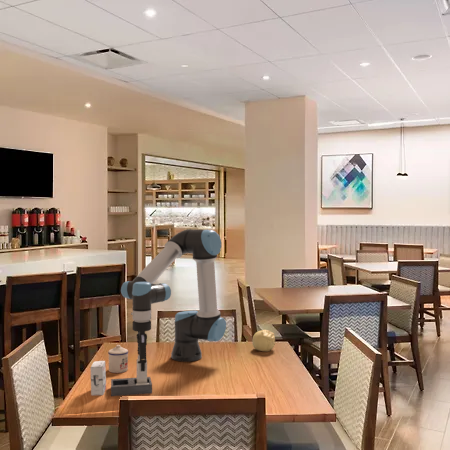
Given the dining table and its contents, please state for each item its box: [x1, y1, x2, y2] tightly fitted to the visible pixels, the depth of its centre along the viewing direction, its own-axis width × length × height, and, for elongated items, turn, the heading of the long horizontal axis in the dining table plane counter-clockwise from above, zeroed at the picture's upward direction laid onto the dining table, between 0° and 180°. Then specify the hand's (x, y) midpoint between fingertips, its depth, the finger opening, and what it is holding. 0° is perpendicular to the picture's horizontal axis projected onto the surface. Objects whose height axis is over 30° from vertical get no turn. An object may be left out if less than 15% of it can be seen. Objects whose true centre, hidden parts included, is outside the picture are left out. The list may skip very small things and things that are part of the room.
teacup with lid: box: [107, 344, 129, 374], centre depth 244 cm, size 12×9×12 cm
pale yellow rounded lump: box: [252, 329, 276, 352], centre depth 278 cm, size 12×12×11 cm
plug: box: [136, 358, 148, 384], centre depth 215 cm, size 4×4×14 cm
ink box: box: [89, 360, 107, 396], centre depth 213 cm, size 9×5×12 cm, turn 5°
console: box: [110, 376, 153, 397], centre depth 214 cm, size 16×10×4 cm, turn 102°
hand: (141, 374), depth 215 cm, fingers open, 10 cm apart
